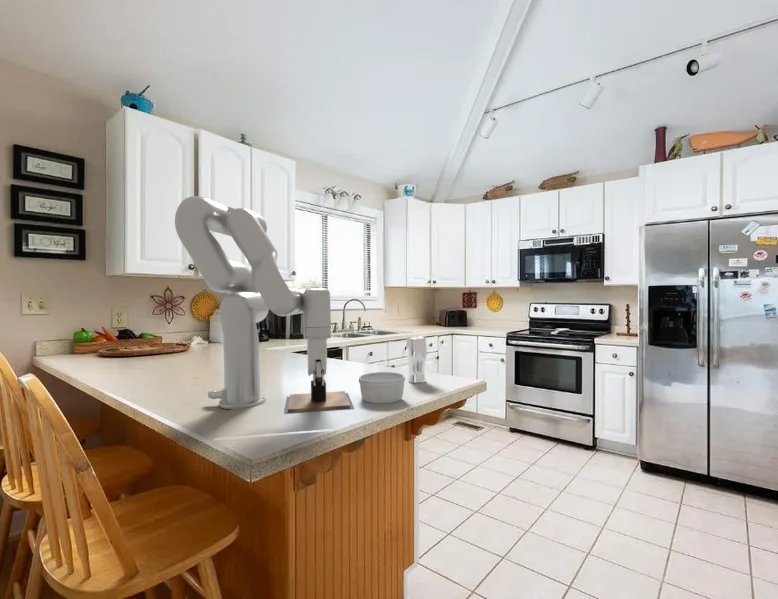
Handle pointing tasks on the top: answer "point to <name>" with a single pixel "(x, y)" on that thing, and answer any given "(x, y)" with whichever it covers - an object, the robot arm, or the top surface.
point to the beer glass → (416, 358)
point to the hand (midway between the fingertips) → (318, 397)
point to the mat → (317, 410)
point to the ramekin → (382, 387)
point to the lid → (307, 404)
